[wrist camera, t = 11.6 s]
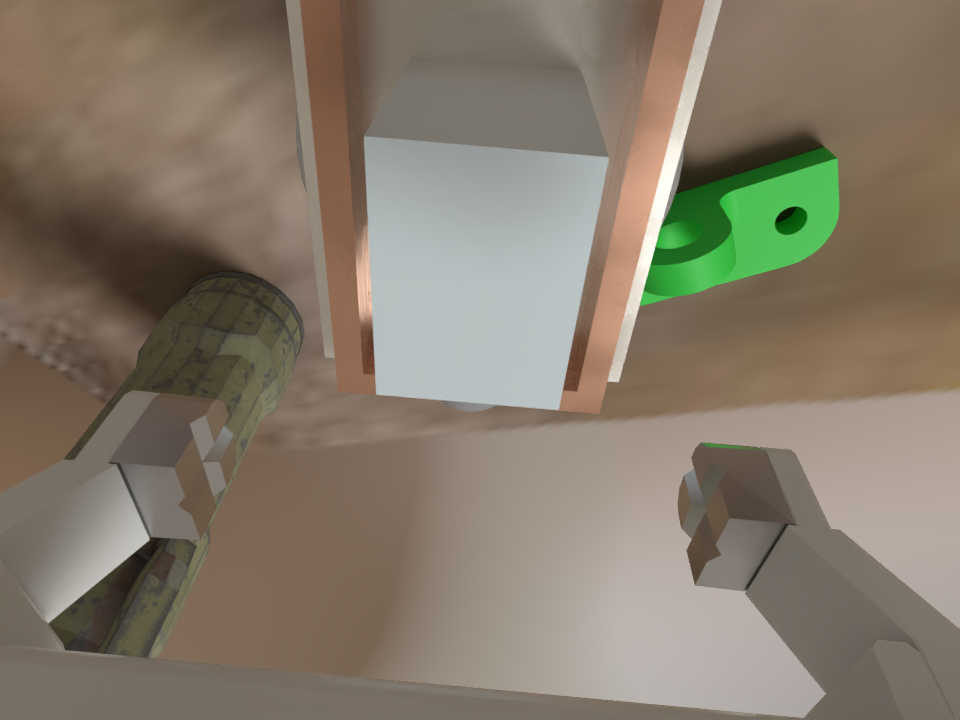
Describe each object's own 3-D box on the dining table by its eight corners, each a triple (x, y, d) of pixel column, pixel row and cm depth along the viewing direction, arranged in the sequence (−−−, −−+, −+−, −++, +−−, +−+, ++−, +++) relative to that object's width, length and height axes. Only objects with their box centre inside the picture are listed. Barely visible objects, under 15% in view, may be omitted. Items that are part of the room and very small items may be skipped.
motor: (688, -113, 28) (868, -101, 14) (616, 212, 38) (677, 420, 24) (340, -143, 28) (149, -163, 14) (359, 190, 38) (259, 384, 24)
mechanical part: (636, 289, 42) (657, 362, 36) (615, 211, 38) (634, 276, 32) (827, 235, 39) (887, 305, 32) (823, 145, 35) (889, 203, 29)
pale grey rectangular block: (581, 71, 18) (609, 157, 13) (541, 323, 24) (548, 459, 18) (411, 56, 18) (364, 136, 13) (411, 313, 24) (378, 446, 18)
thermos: (142, 315, 45) (-452, 1006, 17) (257, 238, 41) (-294, 998, 13) (232, 394, 49) (-129, 1046, 22) (345, 332, 45) (69, 1050, 17)
